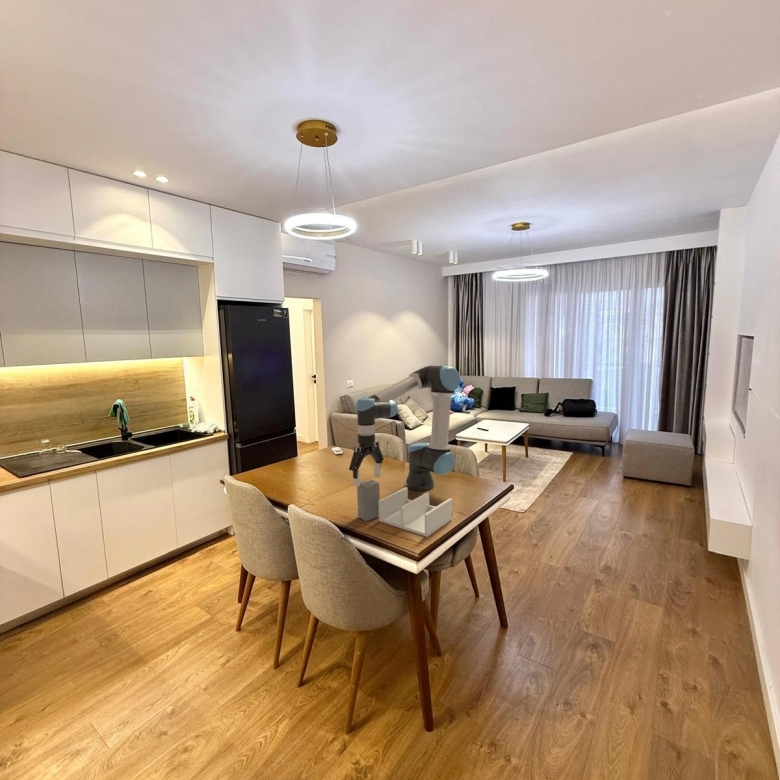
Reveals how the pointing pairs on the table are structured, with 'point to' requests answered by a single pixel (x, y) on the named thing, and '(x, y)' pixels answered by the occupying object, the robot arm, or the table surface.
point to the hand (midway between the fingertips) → (367, 481)
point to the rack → (414, 512)
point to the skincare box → (368, 500)
